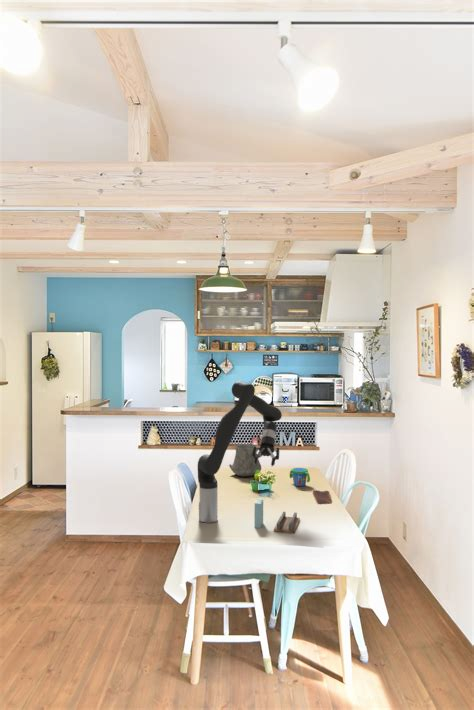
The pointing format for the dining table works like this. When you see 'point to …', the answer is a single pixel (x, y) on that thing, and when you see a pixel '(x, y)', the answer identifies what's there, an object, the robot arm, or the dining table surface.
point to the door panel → (258, 513)
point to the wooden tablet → (322, 497)
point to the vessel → (245, 461)
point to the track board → (287, 523)
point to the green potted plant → (255, 481)
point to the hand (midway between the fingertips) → (264, 465)
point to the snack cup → (299, 476)
